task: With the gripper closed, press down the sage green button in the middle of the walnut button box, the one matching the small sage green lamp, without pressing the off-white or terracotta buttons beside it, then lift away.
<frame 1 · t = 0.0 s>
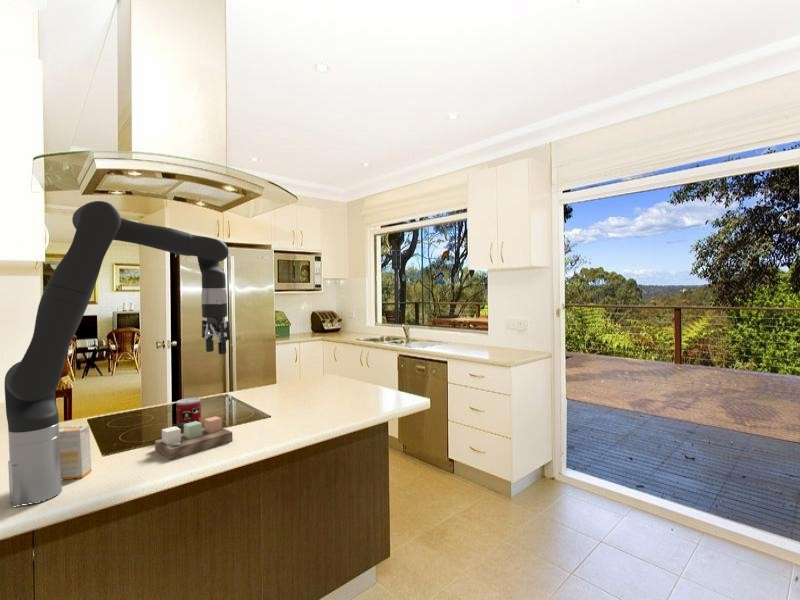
hand: (216, 352, 135), 29 cm above the table, tool pointing down, fingers open, 8 cm apart
off-white button: (171, 435, 129), point 5 cm above the table, slide at 1.8 cm
button box: (194, 445, 134), on the table
sage green button: (192, 429, 134), point 5 cm above the table, slide at 1.8 cm
terracotta button: (213, 424, 139), point 5 cm above the table, slide at 1.8 cm
canned food: (189, 431, 148), on the table
supplement box: (70, 477, 113), on the table
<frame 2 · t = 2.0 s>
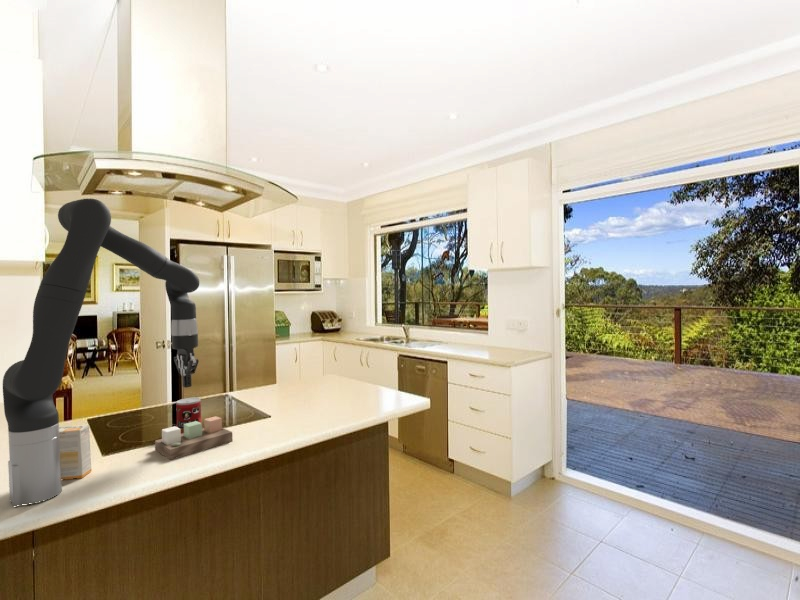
hand: (187, 386, 135), 19 cm above the table, tool pointing down, fingers closed
nothing on the table moved.
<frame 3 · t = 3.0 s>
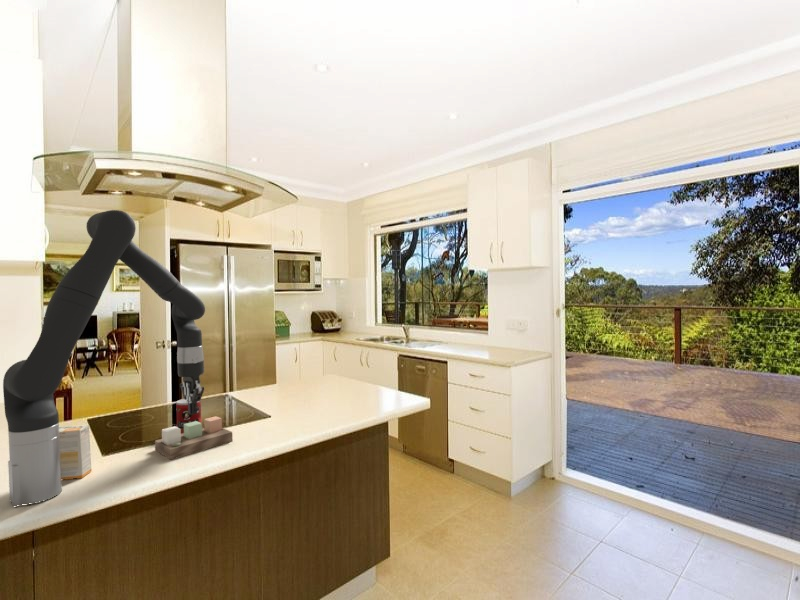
hand: (192, 413, 134), 10 cm above the table, tool pointing down, fingers closed
nothing on the table moved.
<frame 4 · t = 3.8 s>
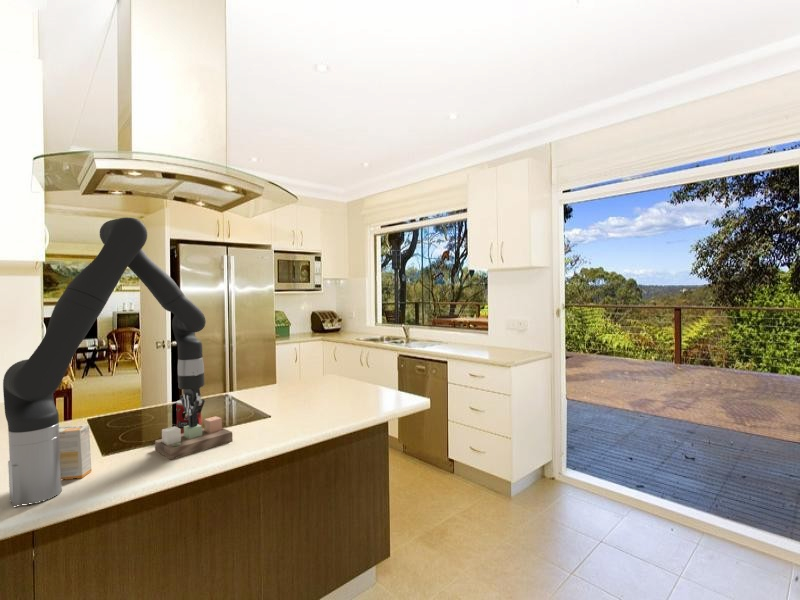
hand: (193, 426, 134), 6 cm above the table, tool pointing down, fingers closed
sage green button: (193, 432, 134), point 4 cm above the table, slide at 1.0 cm, touching gripper
everything else where it was.
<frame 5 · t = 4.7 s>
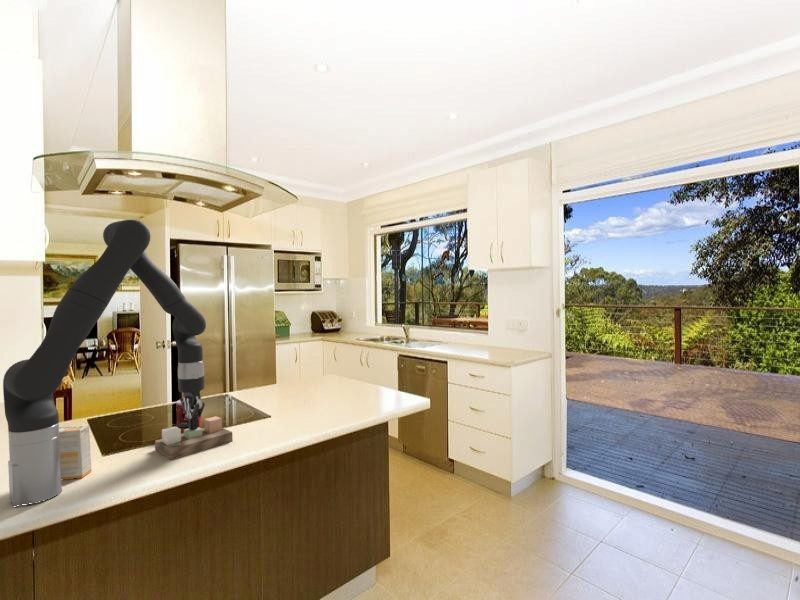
hand: (193, 429, 134), 5 cm above the table, tool pointing down, fingers closed
sage green button: (193, 435, 134), point 3 cm above the table, slide at 0.0 cm, touching button box, gripper
everything else where it was.
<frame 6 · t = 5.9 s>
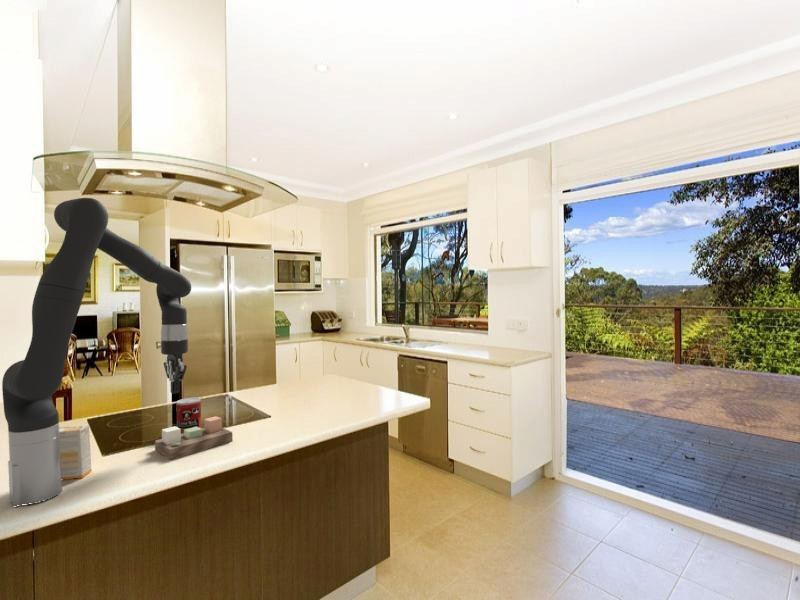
hand: (175, 392, 133), 17 cm above the table, tool pointing down, fingers closed
sage green button: (193, 435, 134), point 3 cm above the table, slide at 0.0 cm, touching button box
everything else where it was.
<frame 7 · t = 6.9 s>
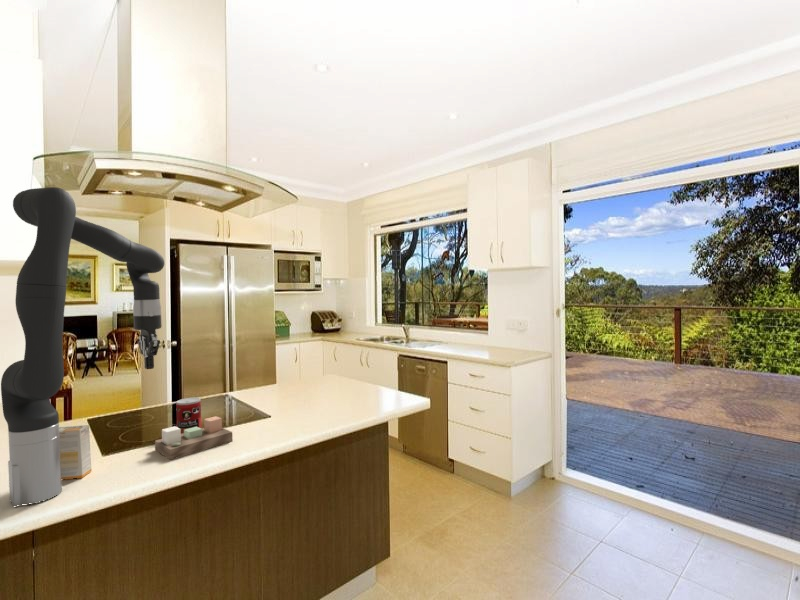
hand: (149, 368, 133), 25 cm above the table, tool pointing down, fingers closed
nothing on the table moved.
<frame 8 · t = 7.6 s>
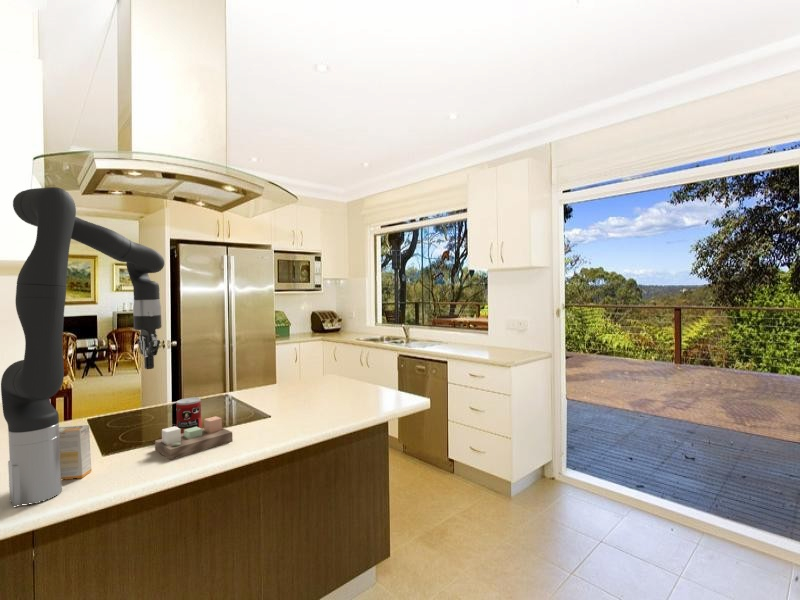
hand: (149, 368, 133), 25 cm above the table, tool pointing down, fingers closed
nothing on the table moved.
at the end: sage green button slide at 0.0 cm; off-white button slide at 1.8 cm; terracotta button slide at 1.8 cm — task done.
